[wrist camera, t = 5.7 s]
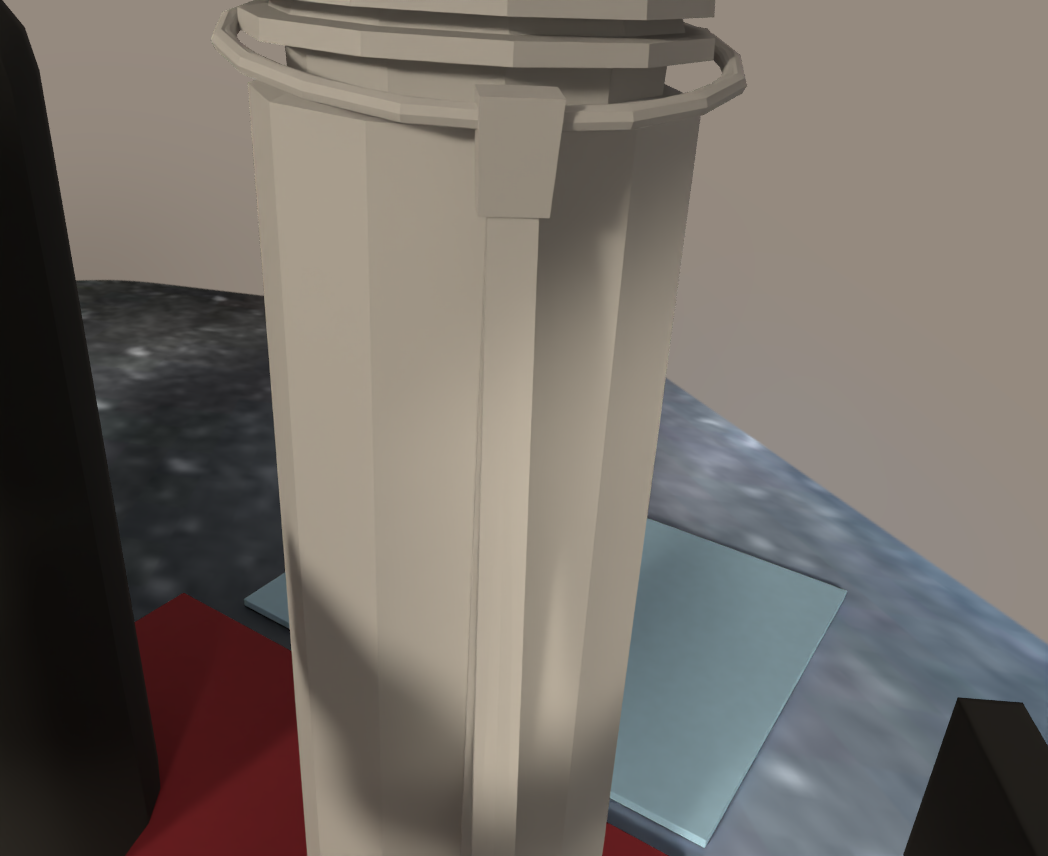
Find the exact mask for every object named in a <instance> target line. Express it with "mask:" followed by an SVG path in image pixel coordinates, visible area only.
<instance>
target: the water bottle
mask: <svg viewBox="0 0 1048 856" xmlns="http://www.w3.org/2000/svg"><path fill="white" fill-rule="evenodd" d="M714 11H715V0H254V1H251V2H248V3H246V4H243V5H240V6H237V7H235V8H232V9H229V10H227V11H224V12H222V14H221V17H220V19H219V21H218V23H217V25H216V27H215V30H214V32H213V35H212V38H211V42H212V44H213V46H214V48H215V49H216V50H217V51H218V52H219V53H220V54H221V55H222V56H223V57H224V58H225V59H227V60H228V61H229V62H230V63H231V64H232V65H233V66H234V67H235V68H236V69H237V70H238V71H239V72H240V73H241V74H244V75H246V76H249V77H251V78H254V79H256V80H254V81H251V82H248V92H249V93H248V94H249V107H250V119H251V133H252V145H253V158H254V172H255V184H256V197H257V210H258V223H259V235H260V249H261V262H262V275H263V287H264V301H265V314H266V327H267V340H268V353H269V366H270V379H271V392H272V405H273V418H274V431H275V444H276V457H277V470H278V483H279V495H280V508H281V521H282V534H283V547H284V560H285V573H286V586H287V599H288V612H289V625H290V638H291V651H292V664H293V677H294V690H295V703H296V716H297V729H298V742H299V755H300V768H301V781H302V793H303V806H304V819H305V832H306V845H307V856H602V852H603V845H604V837H605V830H606V822H607V815H608V807H609V800H610V792H611V784H612V777H613V769H614V762H615V754H616V747H617V739H618V732H619V724H620V717H621V709H622V702H623V694H624V687H625V679H626V672H627V664H628V657H629V649H630V642H631V634H632V627H633V619H634V612H635V604H636V597H637V589H638V582H639V574H640V567H641V559H642V552H643V544H644V537H645V529H646V522H647V514H648V507H649V499H650V492H651V484H652V477H653V469H654V462H655V454H656V446H657V439H658V431H659V424H660V416H661V409H662V401H663V394H664V386H665V379H666V371H667V364H668V356H669V349H670V341H671V334H672V325H673V319H674V318H673V317H674V311H675V303H676V296H677V288H678V281H679V274H680V266H681V258H682V251H683V244H684V236H685V229H686V221H687V213H688V205H689V199H690V191H691V184H692V176H693V169H694V161H695V154H696V146H697V138H698V131H699V124H700V116H701V115H704V114H706V113H708V112H710V111H712V110H713V109H715V108H717V107H719V106H720V105H722V104H724V103H726V102H727V101H729V100H731V99H733V98H735V97H736V96H738V95H740V94H742V93H743V91H744V90H745V88H746V86H747V84H746V80H745V75H744V70H743V65H742V60H741V56H740V54H738V53H737V52H736V51H735V50H733V49H732V48H731V47H730V46H728V45H727V44H725V43H724V42H723V41H722V40H721V39H719V38H718V37H717V36H715V35H714V34H712V33H711V32H710V31H709V30H708V29H707V28H701V27H696V26H693V25H690V24H688V23H685V22H683V19H685V18H707V17H714ZM240 30H242V31H244V32H245V33H247V34H248V35H250V36H252V37H253V38H255V39H257V40H258V41H261V42H268V43H274V44H280V45H285V51H286V61H287V66H285V65H282V64H280V63H277V62H275V61H273V60H270V59H268V58H266V57H264V56H261V55H259V54H257V53H255V52H254V51H252V50H251V49H249V48H248V47H246V46H245V45H243V44H242V43H241V42H240V41H239V40H238V38H237V34H238V33H239V31H240ZM711 60H714V61H715V62H716V63H717V64H718V66H719V67H720V68H721V71H722V76H721V77H720V78H718V79H717V80H716V81H714V82H713V83H712V84H709V85H706V86H704V87H701V88H699V89H696V90H694V91H691V92H687V93H682V92H680V91H678V90H676V89H674V88H672V87H670V86H667V85H665V84H664V82H665V75H666V69H667V66H669V65H678V64H686V63H694V62H702V61H711Z"/></svg>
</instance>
